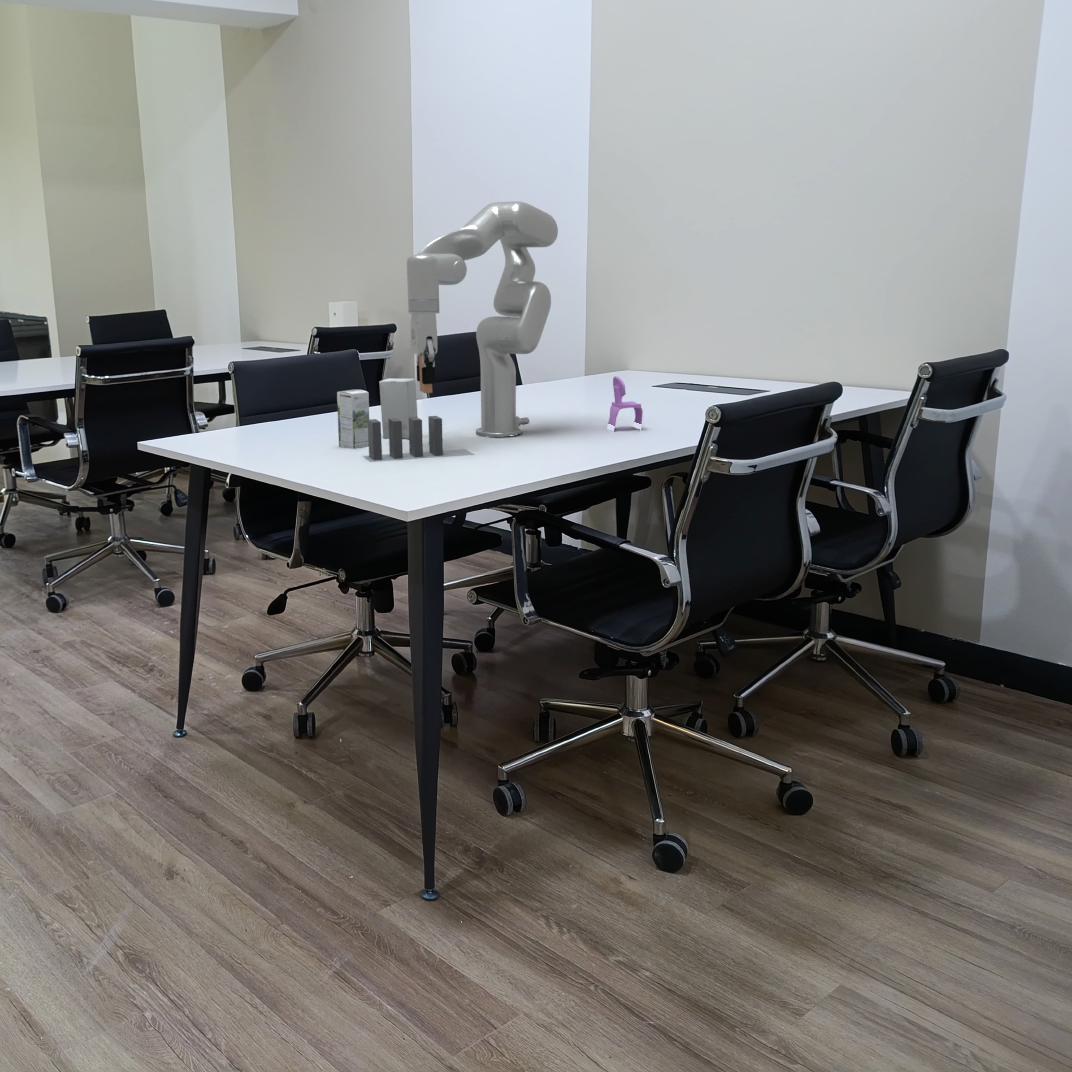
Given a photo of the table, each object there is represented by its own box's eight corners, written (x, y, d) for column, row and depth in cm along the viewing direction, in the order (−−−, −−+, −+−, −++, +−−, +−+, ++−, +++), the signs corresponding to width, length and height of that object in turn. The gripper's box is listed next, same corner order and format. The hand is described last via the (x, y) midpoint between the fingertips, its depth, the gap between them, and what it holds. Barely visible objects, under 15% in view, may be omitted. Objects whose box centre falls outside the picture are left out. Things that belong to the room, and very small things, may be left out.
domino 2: (397, 454, 256) (396, 418, 253) (402, 458, 251) (401, 420, 249) (389, 455, 255) (388, 418, 253) (394, 458, 250) (393, 421, 248)
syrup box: (355, 444, 272) (353, 388, 268) (371, 447, 268) (368, 390, 264) (338, 447, 267) (335, 390, 264) (354, 450, 264) (351, 392, 260)
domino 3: (417, 453, 257) (416, 416, 255) (423, 456, 253) (421, 419, 251) (409, 453, 257) (408, 417, 254) (414, 457, 252) (413, 420, 250)
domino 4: (427, 390, 262) (426, 354, 260) (432, 392, 258) (431, 355, 256) (419, 390, 262) (418, 354, 259) (424, 393, 257) (423, 356, 255)
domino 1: (377, 456, 254) (375, 419, 252) (382, 459, 249) (380, 422, 247) (369, 456, 253) (367, 419, 251) (373, 460, 249) (372, 422, 246)
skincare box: (419, 435, 285) (417, 378, 281) (409, 439, 279) (408, 381, 275) (390, 434, 288) (388, 377, 284) (380, 438, 281) (378, 380, 277)
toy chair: (644, 431, 294) (645, 377, 290) (614, 432, 291) (615, 378, 287) (633, 426, 301) (634, 374, 297) (604, 427, 299) (605, 375, 295)
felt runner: (465, 450, 263) (465, 449, 263) (475, 456, 256) (475, 454, 256) (362, 457, 254) (362, 455, 254) (370, 463, 247) (370, 461, 247)
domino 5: (437, 452, 259) (436, 415, 257) (442, 455, 255) (442, 418, 252) (429, 452, 259) (428, 416, 256) (434, 456, 254) (434, 419, 252)
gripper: (401, 305, 261) (404, 379, 266) (416, 309, 246) (418, 387, 250) (430, 305, 263) (433, 378, 268) (447, 308, 248) (449, 385, 253)
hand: (426, 381), depth 259 cm, fingers closed on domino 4, 4 cm apart
